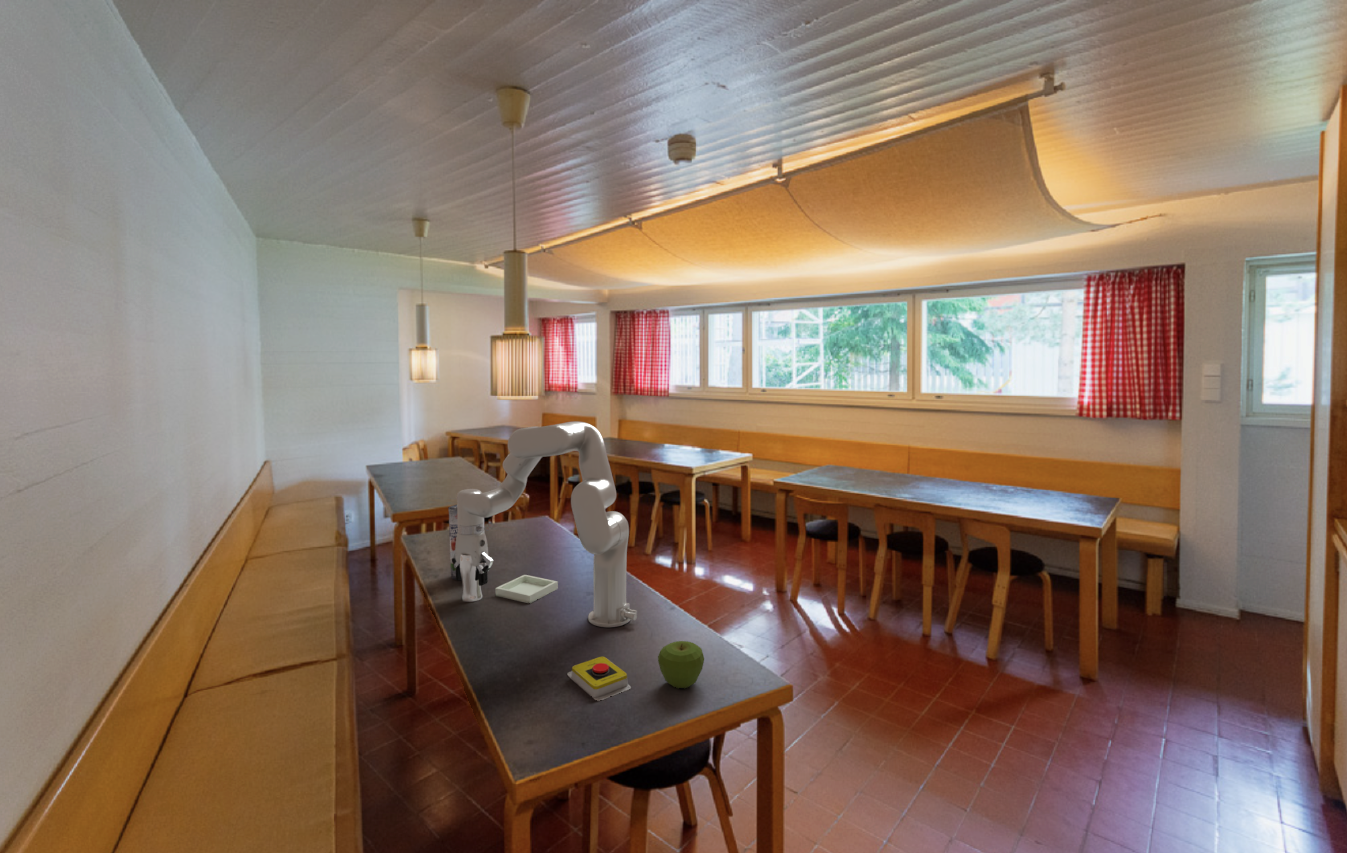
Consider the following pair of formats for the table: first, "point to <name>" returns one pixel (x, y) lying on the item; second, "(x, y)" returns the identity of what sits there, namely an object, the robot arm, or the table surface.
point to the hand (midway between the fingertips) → (471, 581)
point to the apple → (681, 663)
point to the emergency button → (600, 678)
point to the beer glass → (470, 579)
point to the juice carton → (454, 534)
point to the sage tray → (526, 588)
